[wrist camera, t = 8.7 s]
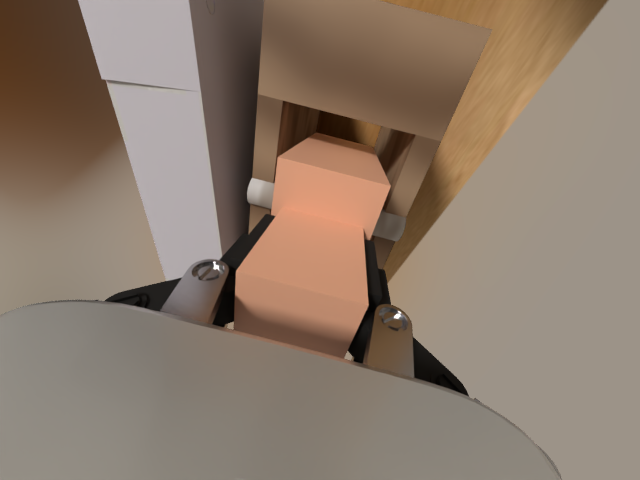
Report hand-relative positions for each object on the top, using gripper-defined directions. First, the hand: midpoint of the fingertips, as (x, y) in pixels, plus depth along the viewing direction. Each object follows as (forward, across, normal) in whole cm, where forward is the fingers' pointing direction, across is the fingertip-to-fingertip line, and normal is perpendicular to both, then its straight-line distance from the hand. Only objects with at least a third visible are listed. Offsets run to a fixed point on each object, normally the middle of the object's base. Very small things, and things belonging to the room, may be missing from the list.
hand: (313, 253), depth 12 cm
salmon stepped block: (+12, 0, 0) cm, 12 cm away
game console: (+24, +10, -1) cm, 26 cm away
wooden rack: (+23, 0, 0) cm, 23 cm away
